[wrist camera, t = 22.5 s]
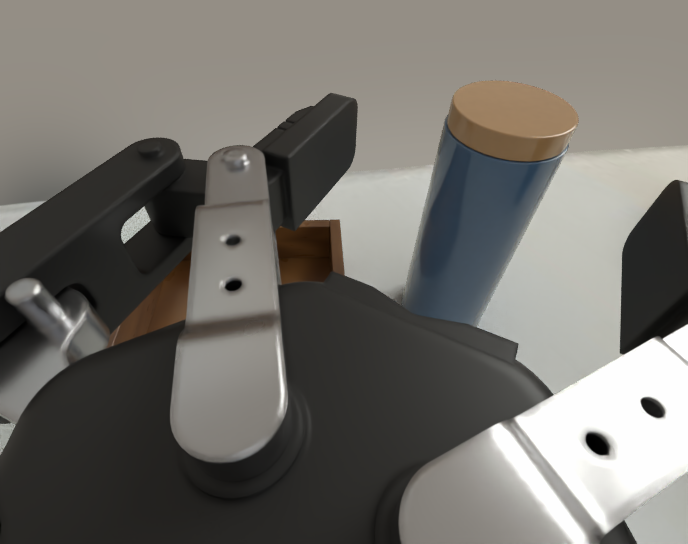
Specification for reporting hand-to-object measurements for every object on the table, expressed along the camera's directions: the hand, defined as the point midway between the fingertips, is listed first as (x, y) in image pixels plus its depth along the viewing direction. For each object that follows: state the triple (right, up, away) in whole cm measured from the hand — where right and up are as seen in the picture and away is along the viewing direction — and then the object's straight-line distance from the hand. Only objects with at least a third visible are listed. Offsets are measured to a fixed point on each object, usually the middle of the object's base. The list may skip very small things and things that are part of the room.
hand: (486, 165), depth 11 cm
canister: (+4, -6, +20) cm, 21 cm away
